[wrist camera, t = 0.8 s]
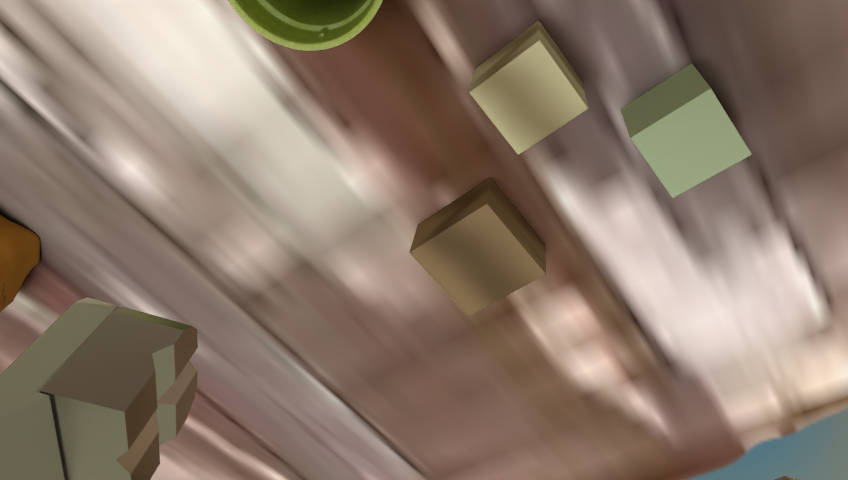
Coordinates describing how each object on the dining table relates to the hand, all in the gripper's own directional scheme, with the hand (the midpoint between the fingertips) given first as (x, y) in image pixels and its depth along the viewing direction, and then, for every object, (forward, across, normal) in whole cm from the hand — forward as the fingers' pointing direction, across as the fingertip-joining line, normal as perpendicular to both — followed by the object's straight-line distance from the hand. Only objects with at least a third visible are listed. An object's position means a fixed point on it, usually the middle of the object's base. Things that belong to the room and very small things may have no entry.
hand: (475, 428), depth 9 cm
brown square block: (+35, -2, +18) cm, 39 cm away
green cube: (+35, -12, +5) cm, 37 cm away
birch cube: (+35, -2, +5) cm, 35 cm away
